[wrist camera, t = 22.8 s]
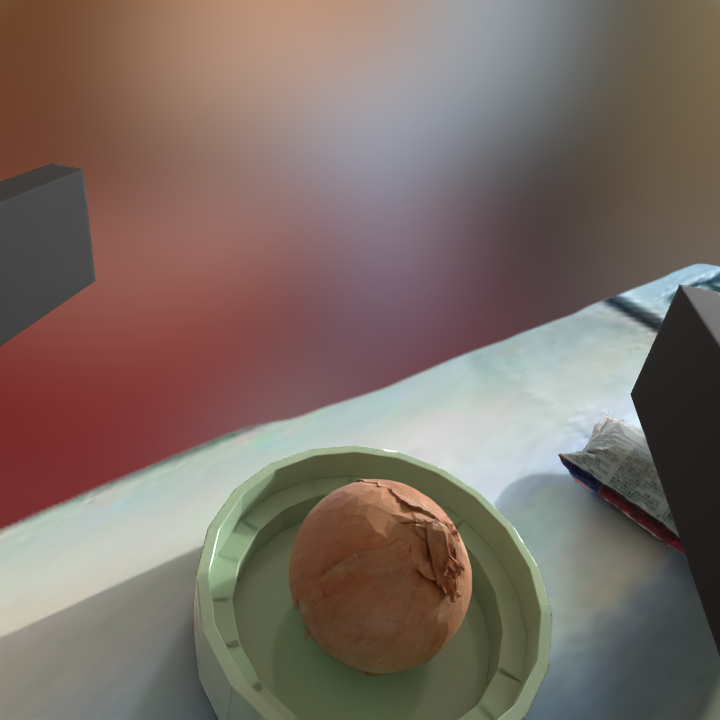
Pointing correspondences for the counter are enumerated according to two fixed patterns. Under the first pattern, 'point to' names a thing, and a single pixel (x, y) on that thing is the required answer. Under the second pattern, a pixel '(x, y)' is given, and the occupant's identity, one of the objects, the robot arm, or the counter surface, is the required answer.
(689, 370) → the robot arm
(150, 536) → the counter surface
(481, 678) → the bowl
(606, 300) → the counter surface
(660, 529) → the packaged food
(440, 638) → the onion
